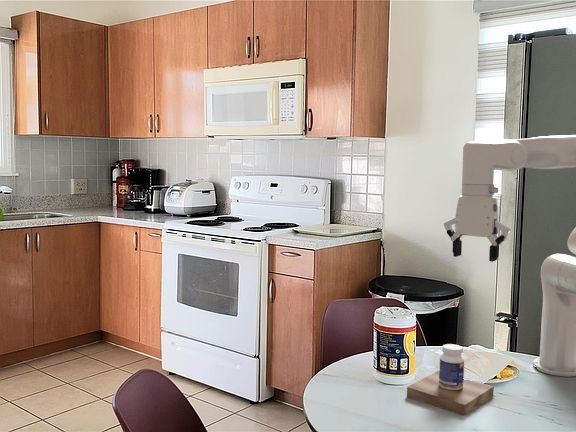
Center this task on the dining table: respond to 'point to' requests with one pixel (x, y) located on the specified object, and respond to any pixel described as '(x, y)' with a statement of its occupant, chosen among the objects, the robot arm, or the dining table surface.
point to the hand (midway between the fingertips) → (474, 258)
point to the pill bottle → (451, 367)
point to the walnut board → (450, 394)
